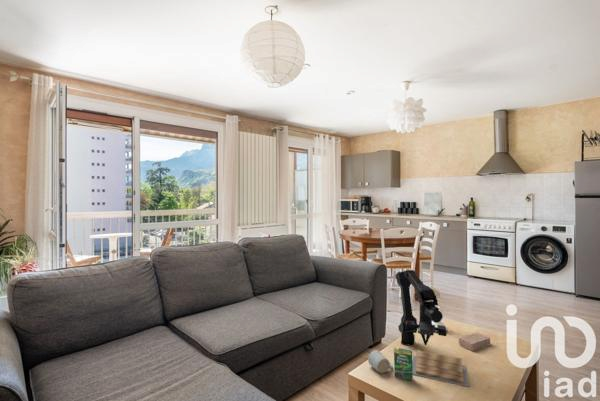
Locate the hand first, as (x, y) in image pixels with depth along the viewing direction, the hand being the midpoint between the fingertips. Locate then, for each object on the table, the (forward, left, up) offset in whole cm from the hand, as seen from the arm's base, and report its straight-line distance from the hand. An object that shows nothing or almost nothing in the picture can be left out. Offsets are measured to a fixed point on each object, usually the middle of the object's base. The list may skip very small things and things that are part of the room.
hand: (425, 344), depth 155 cm
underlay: (+6, -5, -9) cm, 12 cm away
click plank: (+6, -2, -7) cm, 9 cm away
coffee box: (-9, -18, -9) cm, 22 cm away
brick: (+24, +29, -9) cm, 39 cm away
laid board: (+6, -9, -9) cm, 14 cm away
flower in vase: (+4, +42, -9) cm, 44 cm away
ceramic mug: (-19, -14, -9) cm, 26 cm away
